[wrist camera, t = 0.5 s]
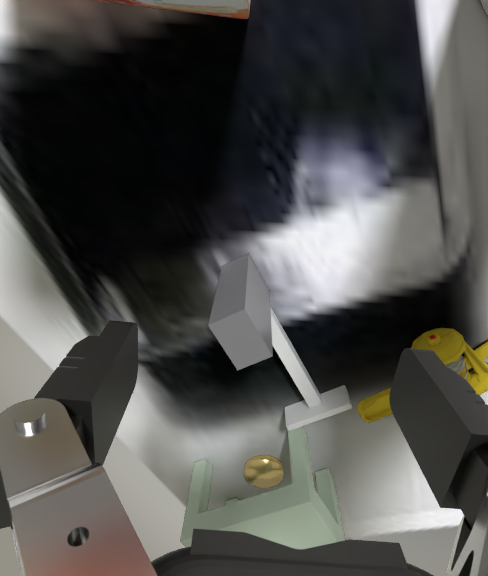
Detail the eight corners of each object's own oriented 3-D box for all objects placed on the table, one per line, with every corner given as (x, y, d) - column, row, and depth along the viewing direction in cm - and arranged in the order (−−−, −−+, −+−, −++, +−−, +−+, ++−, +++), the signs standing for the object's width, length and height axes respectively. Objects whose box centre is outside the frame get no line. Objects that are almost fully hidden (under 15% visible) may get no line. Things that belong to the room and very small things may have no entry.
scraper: (269, 242, 30) (273, 296, 22) (347, 389, 36) (372, 474, 28) (202, 275, 31) (181, 337, 23) (287, 411, 37) (294, 499, 29)
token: (272, 448, 40) (272, 456, 39) (289, 472, 41) (290, 481, 40) (237, 460, 41) (237, 468, 40) (255, 484, 42) (255, 492, 41)
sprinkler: (420, 510, 36) (349, 403, 30) (400, 473, 40) (333, 372, 34) (627, 408, 33) (592, 270, 28) (584, 379, 37) (546, 253, 31)
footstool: (300, 424, 38) (310, 501, 30) (333, 476, 41) (348, 557, 33) (194, 462, 40) (180, 541, 33) (231, 508, 43) (226, 590, 36)
